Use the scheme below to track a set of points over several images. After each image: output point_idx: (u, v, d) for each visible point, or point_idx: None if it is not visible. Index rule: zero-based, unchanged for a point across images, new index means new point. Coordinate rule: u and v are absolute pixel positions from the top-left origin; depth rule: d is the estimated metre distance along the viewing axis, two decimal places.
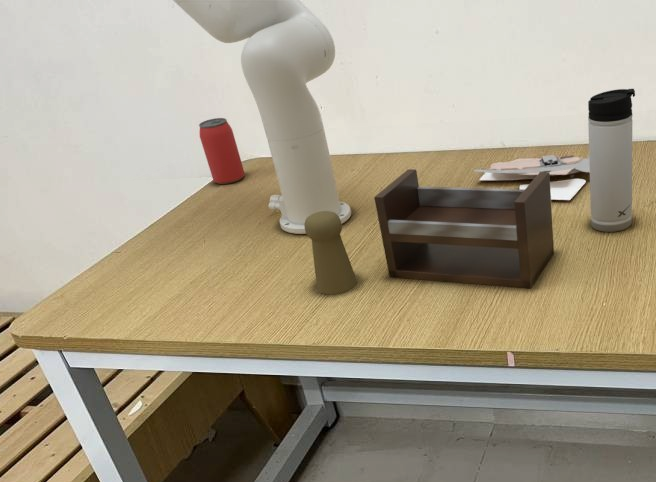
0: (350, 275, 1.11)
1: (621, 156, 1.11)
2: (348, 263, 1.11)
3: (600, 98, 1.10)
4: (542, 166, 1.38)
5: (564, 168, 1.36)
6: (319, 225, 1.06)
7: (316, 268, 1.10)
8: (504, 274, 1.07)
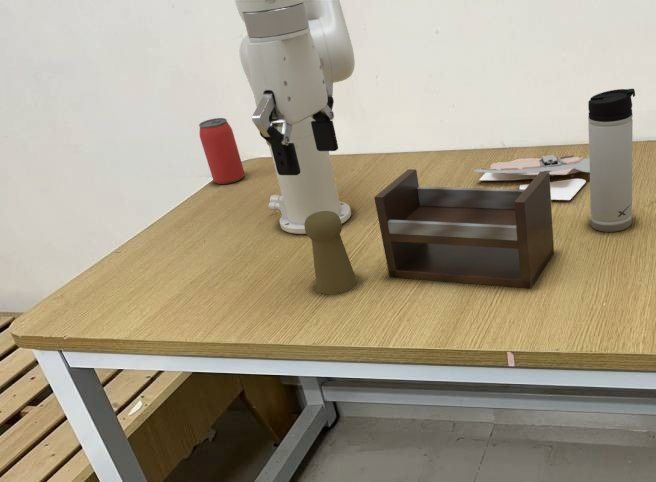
0: (350, 275, 1.11)
1: (621, 156, 1.11)
2: (348, 263, 1.11)
3: (600, 98, 1.10)
4: (542, 166, 1.38)
5: (564, 168, 1.36)
6: (319, 225, 1.06)
7: (316, 268, 1.10)
8: (504, 274, 1.07)
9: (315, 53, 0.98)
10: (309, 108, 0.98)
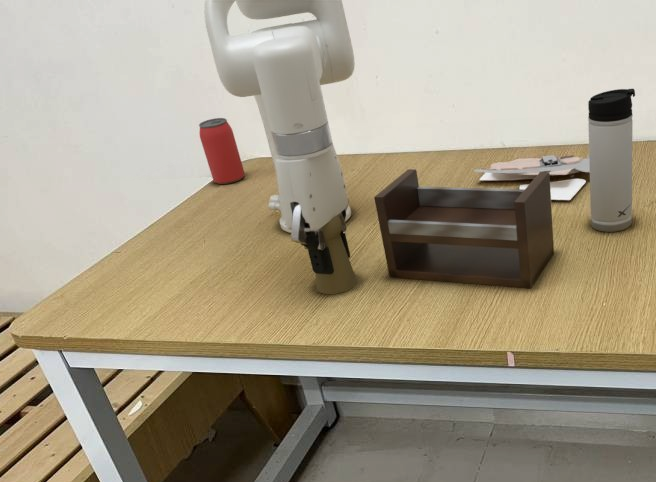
0: (350, 275, 1.11)
1: (621, 156, 1.11)
2: (348, 263, 1.11)
3: (600, 98, 1.10)
4: (542, 166, 1.38)
5: (564, 168, 1.36)
6: None
7: None
8: (504, 274, 1.07)
9: (337, 162, 1.06)
10: (331, 213, 1.06)
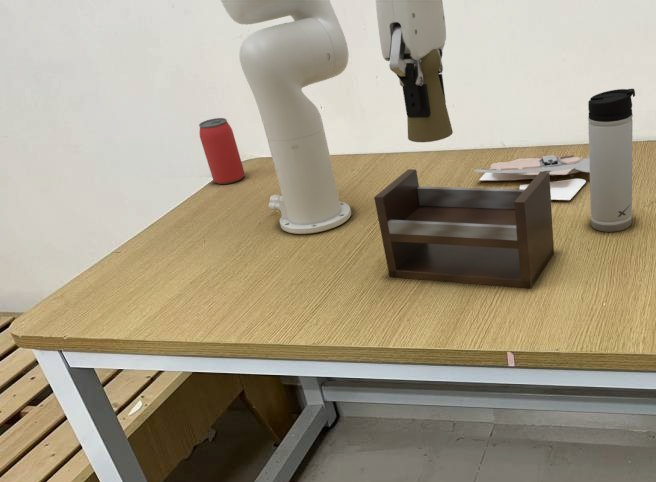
0: (447, 121, 1.00)
1: (621, 156, 1.11)
2: (445, 108, 1.00)
3: (600, 98, 1.10)
4: (542, 166, 1.38)
5: (564, 168, 1.36)
6: None
7: None
8: (504, 274, 1.07)
9: None
10: (431, 44, 0.95)
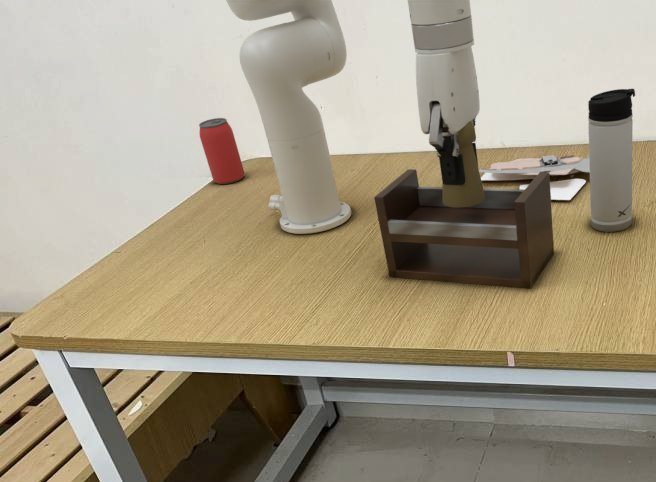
0: (480, 187, 1.05)
1: (621, 156, 1.11)
2: (479, 174, 1.05)
3: (600, 98, 1.10)
4: (542, 166, 1.38)
5: (564, 168, 1.36)
6: None
7: None
8: (504, 274, 1.07)
9: (473, 63, 1.00)
10: (467, 117, 1.00)
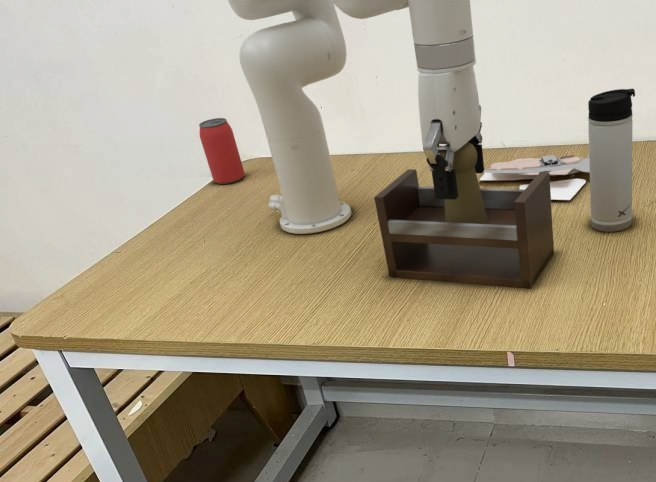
0: (482, 209, 1.07)
1: (621, 156, 1.11)
2: (481, 197, 1.07)
3: (600, 98, 1.10)
4: (542, 166, 1.38)
5: (564, 168, 1.36)
6: (457, 154, 1.02)
7: (449, 201, 1.06)
8: (504, 274, 1.07)
9: (475, 81, 1.01)
10: (468, 135, 1.02)
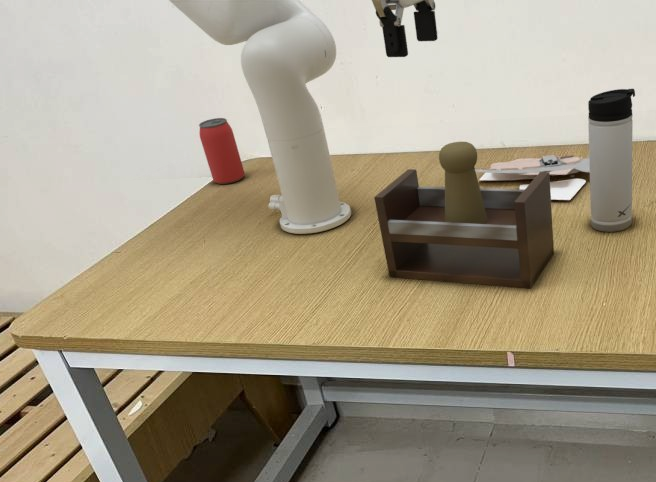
0: (482, 209, 1.07)
1: (621, 156, 1.11)
2: (481, 197, 1.07)
3: (600, 98, 1.10)
4: (542, 166, 1.38)
5: (564, 168, 1.36)
6: (457, 154, 1.02)
7: (449, 201, 1.06)
8: (504, 274, 1.07)
9: None
10: None
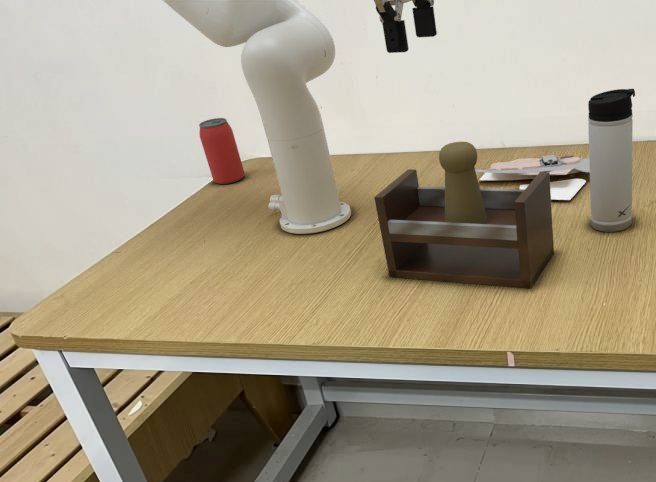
0: (482, 209, 1.07)
1: (621, 156, 1.11)
2: (481, 197, 1.07)
3: (600, 98, 1.10)
4: (542, 166, 1.38)
5: (564, 168, 1.36)
6: (457, 154, 1.02)
7: (449, 201, 1.06)
8: (504, 274, 1.07)
9: None
10: None
